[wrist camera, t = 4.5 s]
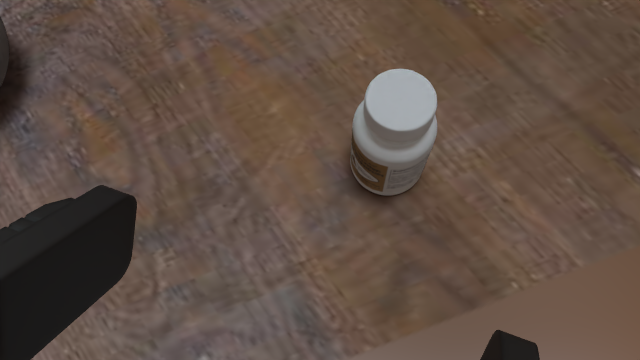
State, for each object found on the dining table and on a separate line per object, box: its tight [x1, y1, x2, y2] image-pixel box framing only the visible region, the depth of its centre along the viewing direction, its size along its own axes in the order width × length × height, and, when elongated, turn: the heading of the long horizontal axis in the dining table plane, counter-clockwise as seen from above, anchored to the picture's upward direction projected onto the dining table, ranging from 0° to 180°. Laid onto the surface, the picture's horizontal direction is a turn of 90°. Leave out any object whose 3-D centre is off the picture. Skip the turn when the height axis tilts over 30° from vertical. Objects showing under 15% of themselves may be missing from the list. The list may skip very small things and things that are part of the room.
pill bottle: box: [350, 69, 437, 195], centre depth 29 cm, size 4×4×8 cm
